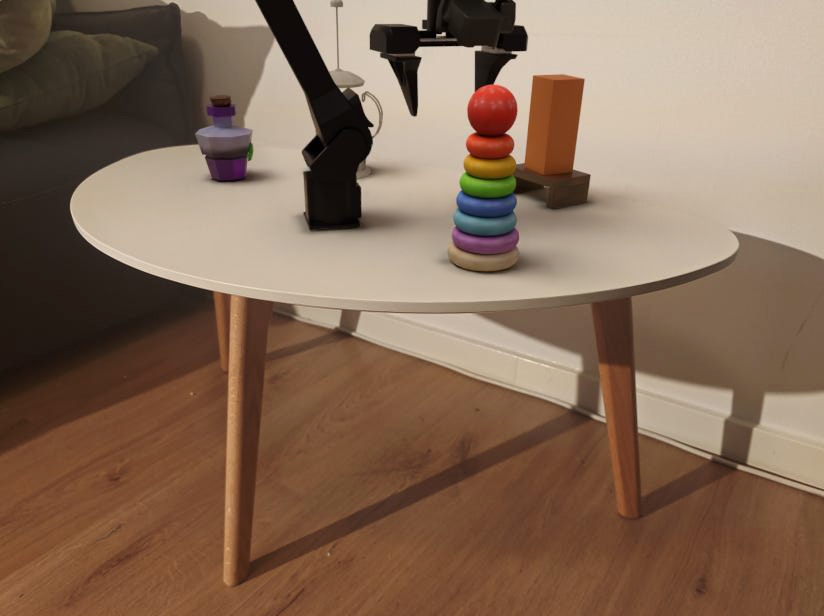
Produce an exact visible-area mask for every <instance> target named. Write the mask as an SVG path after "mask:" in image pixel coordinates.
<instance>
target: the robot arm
mask: <svg viewBox="0 0 824 616" xmlns="http://www.w3.org/2000/svg"><path fill="white" fill-rule="evenodd" d="M254 1H255V3H256V5H257V7H258V9H259V10H260V13H261V14H262V17H263V19H264V20H265V22H266V24H267V26H268V28H269V29H270V31H271V33H272V35H273V37H274V39H275V41H276V43H277V45H278V47H279V48H280V50H281V52H282V54H283V56H284V58H285V59H286V61H287V64H288V65H289V67H290V69H291V71H292V73H293V75H294V76H295V79H296V80H297V82H298V84H299V86H300V88H301V90H302V91H303V94H304V96H305V101H306V103H307V107H308V110H309V113H310V118H311V120H312V123H313V126H314V130H315V129H316V132H317V135H316V134H315V136H314V137H312V139H311V140H310V141H309V142H308V143H307V144H306V145H305V146H304V148H303V149H302V150H301V155H302V157H303V159H304V160H303V161H305V165H306V166H307V168H308V169H309V170H304V171H303V172H302V174H303V175H302V176H303V192H304V193H303V194H304V211H303V212H302V214H303V218H304V220H305V223H306V225H307V227H308V230H310V231H311V230H312V231H313V230H316V231H317V230H330V229H348V228H349V229H350V228H360V227H361V221H360V220H361V219H362V215H363V213H362V212H363V211H362V186H361V185H360V184H359V183H358V180H357V179H358V178H357V175H356V173H357V170H358V167H359V164H360V163H361V162H363V161H364V160H365V159H366V160H367V158H368V156H369V155H370V154H371V151H372V147H373V145H374V138H372V136H373V135H372V132H371V129H370V128H374V126H375V124H374V123H373V122H371V121H370V119H369V118H368V117H367V115H366V114H365V110H364V107H363V103H362V100H361V98H360V95H359V94H358V93H357V92H355V91H354V90H353V88H349V87H348V88H344V90H343V91H342V90H341V88H340V89H339V88H338V87H337V85H336V84H335V82H334V81H333V79H332V77H331V75H330V73H329V71H330V70H329V69H328V67H327V65H326V63H325V61H324V59H323V57H322V55H321V53H320V51H319V49H318V47H317V45H316V43H315V41H314V38H313V37H312V35H311V33H310V31H309V29H308V27H307V25H306V23H305V21H304V19H303V17H302V15H301V13H300V11H299V9H298V7H297V5H296V3H295V1H294V0H254ZM426 4H427V5H426V19H421V29H422V30H421V29H418V26H416V25H410V24H406V23H405V24H403V23H375V24H374V25H373V26H372V27H371V30H370V32H369V50H370V51H372V52H378V53H379V58H381V59H384V60H387V61H388V63H389V65H390V67H391V70H392V71H393V74H394V76H395V78H396V80H397V82H398V85H399V87H400V90H401V92H402V96H403V99H404V100H405V101H404V102H405V104H406V107H407V109H408V112H409V114H410V116H411V117H417V116H418V109H419V82H418V81H419V78H418V77H419V76H418V74H419V73H418V72H419V67H420V65H421V62H422V60H423V59H422V56H418V55H416V51H418V49H419V48H438V47H439V48H442V47H443V48H445V47H464V48H470V49H472V48H474V47H481V48H480V49H481V50H474V93H475V92H476V91H477V90H478V89H479V88H481V87H483V86H486V85H495V83H496V80H497V79H498V76H499V74H500V72H501V71H502V69H503V68H504V67H505V66H506V65H507V64H508V63H509V62H510V61H511V60H516V59H517V57H518V54H516V53H514V52H527V51H528V45H529V44H528V42H529V35H528V32H527V29H526V28H525V26H524V25H519V24H515V23H516V19H517V16H516V15H517V14H516V13H517V3H516V2H515V1H514V0H494V1H486V0H427V2H426ZM443 33H445V34H444V35H443Z"/></svg>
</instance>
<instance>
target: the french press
mask: <svg viewBox="0 0 824 616" xmlns="http://www.w3.org/2000/svg"><path fill="white" fill-rule="evenodd" d="M329 2H330V3H329V5H330V8H335V14H336V15H335V22H336V25H335V26H336V59H337V60H336V61H337V68H335V69H334V70H328V71H329V73H330V75H331V77H332V79H333V81H334V82H335V84H336V85H337V87H338V88H339V89H340V90H341V89H347V88H348V87H349V88H350V89H353V88H361V87H363V86H364V85H365V83H366V81H365V79H363V78H362V77H361V76H359V75H358V74H355V73H354V72H351V71H349V70H343V69H341V68H340V54H339V48H340V47H339V16H338V15H339V13H338V10H339V8H343V7H344V2H343V0H330V1H329ZM360 96H361V103H364V102H366V97H368V98H370V99H371V100H372V102H373V103H375V106H376V108H377V111H378V126H377V129H376V131H375V133H374V134H373V135H372V138H373V139H374V138H375V137H376V136H377V135H378V134H379V133H380V131H381V129H382V127H383V126H382V125H383V117H384V111H383V107H382V104H381V103H380V101H379V99H378V98H377V97H376V96H375V95H374V94H373V93H371V92H369V91H368V90H367V91H364V92H362V94H360ZM314 131H315V136H316V135H317V132H316V129H315V128H314ZM371 174H372V170H371V169H370V167H368V166H367V158H366V159H365V160H364V161H363V162H361V163H360V164H359V167H358V170H357V173H356V175H357V179H361V178H365V177H367V176H369V175H371Z"/></svg>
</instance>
